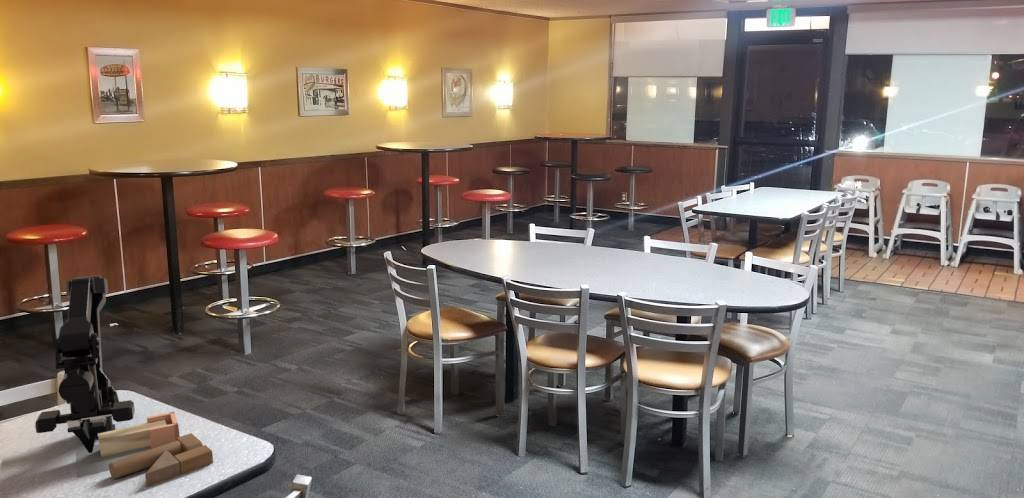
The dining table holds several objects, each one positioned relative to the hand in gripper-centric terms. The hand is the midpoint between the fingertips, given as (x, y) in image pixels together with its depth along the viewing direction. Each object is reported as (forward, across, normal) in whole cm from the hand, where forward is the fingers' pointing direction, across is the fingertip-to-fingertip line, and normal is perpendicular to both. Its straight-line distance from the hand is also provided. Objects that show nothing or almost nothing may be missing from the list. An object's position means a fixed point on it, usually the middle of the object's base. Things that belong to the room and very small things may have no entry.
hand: (90, 452), depth 172 cm
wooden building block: (+1, -9, -2) cm, 9 cm away
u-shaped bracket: (+2, -14, -2) cm, 15 cm away
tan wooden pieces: (-1, -23, +9) cm, 25 cm away
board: (+2, -8, 0) cm, 8 cm away
